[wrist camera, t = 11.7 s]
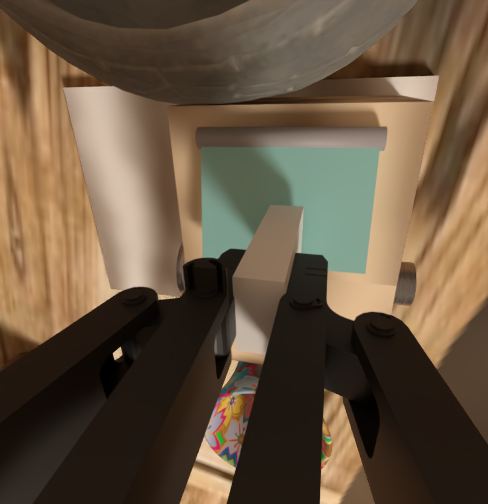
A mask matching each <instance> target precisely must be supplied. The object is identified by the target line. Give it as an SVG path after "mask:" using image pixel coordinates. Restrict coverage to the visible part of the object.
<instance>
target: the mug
mask: <svg viewBox="0 0 488 504" xmlns="http://www.w3.org/2000/svg"><path fill="white" fill-rule="evenodd" d="M262 366H263V364H257V363H250V362H243V361H239V362H238V365H237V367H236V370H235V372H234V373H233V375H232V377H231V378H230V380H229V381H228V382H227V384H226V385H225V386H224V387H223V388H222V389H221V392H220V394H219V397H218V400H217V402H216V405H215V408H214V411H213V413H212V416H211V419H210V422H209V424H208V427H207V430H206V432H205V435H204V437H205V439H206V441H207V442H208V444H209V445H210V447H211V448H212V449H213V450H214V451H215V452H216V453H217V454H218V455H219V456H220V457H221V458H222V459H223V460H225V461H226V462H228V463H229V464H230V465H232V466H234V467H236V466H237V463H238V459H239V455H240V451H241V447H242V443H243V439H244V436H245V432H246V428H247V424H248V420H249V416H250V412H251V409H252V405H253V401H254V397H255V393H256V389H257V385H258V382H259V378H260V374H261V370H262ZM331 452H332V439H331V435H330V432H329V429H328V427H327V425H326V423H325V421H324V419H323V431H322V457H321V469H322V468H323V467H324V466H325V465H326V463H327V462H328V460H329V458H330V456H331Z"/></svg>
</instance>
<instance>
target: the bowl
mask: <svg viewBox="0 0 488 504" xmlns="http://www.w3.org/2000/svg"><path fill="white" fill-rule="evenodd" d="M417 1H418V0H0V8H1V9H2V10H3V11H4V12H5V13H6V14H8V15H9V16H10V17H11V18H12V19H13V20H14V21H16V22H17V23H18V24H19V25H20V26H22V27H23V28H24V29H25V30H26V31H28V32H29V33H30V34H31V35H32V36H34V37H35V38H36V39H37V40H39V41H40V42H41V43H42V44H43V45H45V46H46V47H47V48H48V49H49V50H51V51H52V52H54V53H55V54H57V55H58V56H60V57H61V58H63V59H64V60H66V61H67V62H69V63H70V64H72V65H74V66H75V67H77V68H79V69H81V70H83V71H84V72H86V73H88V74H90V75H91V76H93V77H95V78H97V79H99V80H100V81H102V82H105V83H107V84H110V85H112V86H115V87H117V88H119V89H121V90H122V91H126V92H129V93H132V94H135V95H138V96H142V97H145V98H148V99H152V100H155V101H161V102H167V103H174V104H226V103H234V102H243V101H249V100H254V99H259V98H264V97H269V96H274V95H279V94H284V93H290V92H295V91H298V90H301V89H303V88H305V87H307V86H309V85H311V84H313V83H315V82H318V81H320V80H322V79H324V78H325V77H327V76H329V75H331V74H333V73H334V72H336V71H338V70H340V69H341V68H343V67H345V66H347V65H348V64H350V63H351V62H352V61H354V60H355V59H356V58H358V57H359V56H360V55H362V54H363V53H364V52H365V51H367V50H368V49H369V48H370V47H371V46H373V45H374V44H375V43H376V42H378V41H379V40H380V39H381V38H383V37H384V36H385V35H386V34H387V33H388V32H389V31H390V30H391V29H393V28H394V27H395V26H396V25H397V24H398V23H399V22H400V20H401V19H402V18H403V17H404V16H405V14H406V13H407V12H408V11H409V10H410V9H411V8H412V7H413V6H414V5H415V3H416V2H417Z"/></svg>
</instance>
